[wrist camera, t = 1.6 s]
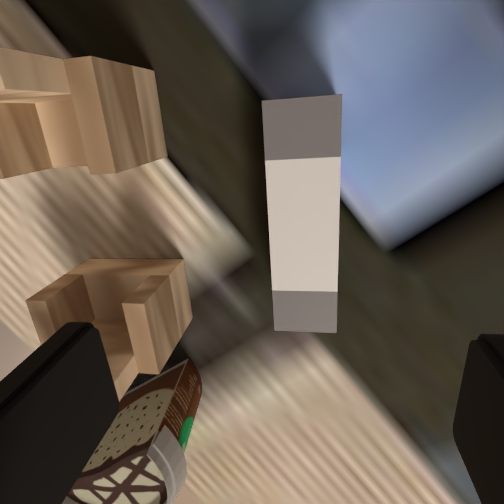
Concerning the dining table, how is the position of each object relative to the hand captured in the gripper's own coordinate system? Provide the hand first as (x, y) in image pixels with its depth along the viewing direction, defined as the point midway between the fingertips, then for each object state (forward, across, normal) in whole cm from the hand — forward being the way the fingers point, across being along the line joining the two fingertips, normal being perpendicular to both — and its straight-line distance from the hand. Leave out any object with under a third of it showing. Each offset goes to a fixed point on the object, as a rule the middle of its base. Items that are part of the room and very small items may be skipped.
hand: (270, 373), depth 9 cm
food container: (+17, +12, +19) cm, 29 cm away
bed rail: (+17, -1, 0) cm, 17 cm away
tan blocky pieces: (+17, +13, 0) cm, 22 cm away
